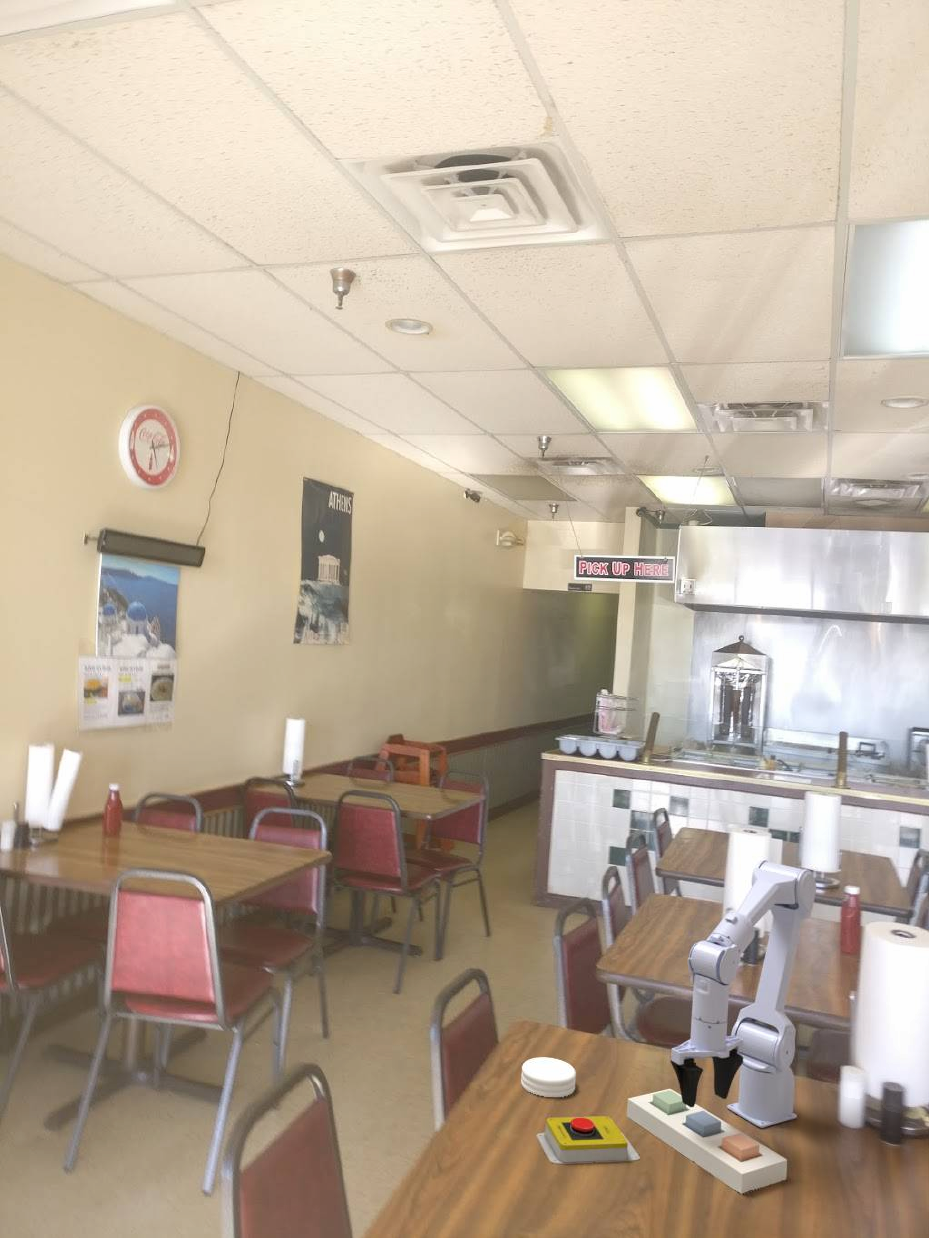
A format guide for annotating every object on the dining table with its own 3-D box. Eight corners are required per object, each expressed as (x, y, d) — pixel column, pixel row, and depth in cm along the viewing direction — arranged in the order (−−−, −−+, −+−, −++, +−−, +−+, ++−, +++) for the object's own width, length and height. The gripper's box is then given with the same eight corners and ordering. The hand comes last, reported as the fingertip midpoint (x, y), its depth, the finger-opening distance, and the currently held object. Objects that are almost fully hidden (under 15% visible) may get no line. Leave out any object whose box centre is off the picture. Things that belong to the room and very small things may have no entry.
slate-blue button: (702, 1128, 159) (703, 1110, 159) (720, 1139, 155) (721, 1121, 155) (685, 1133, 156) (686, 1115, 157) (702, 1145, 153) (703, 1126, 153)
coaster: (515, 1092, 171) (516, 1073, 171) (527, 1070, 180) (528, 1052, 180) (569, 1104, 168) (570, 1084, 168) (579, 1081, 177) (580, 1062, 177)
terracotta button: (738, 1151, 152) (739, 1132, 152) (758, 1164, 148) (759, 1144, 148) (721, 1157, 150) (722, 1137, 150) (740, 1169, 146) (741, 1150, 146)
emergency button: (536, 1109, 156) (621, 1107, 159) (534, 1137, 156) (620, 1134, 159) (553, 1138, 147) (643, 1135, 150) (551, 1167, 147) (641, 1163, 150)
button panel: (669, 1105, 169) (670, 1088, 170) (786, 1179, 147) (787, 1159, 147) (626, 1116, 164) (627, 1098, 164) (741, 1194, 142) (742, 1173, 142)
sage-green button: (669, 1107, 165) (670, 1090, 165) (685, 1117, 162) (686, 1100, 162) (651, 1111, 163) (652, 1094, 163) (668, 1122, 160) (669, 1104, 160)
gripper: (695, 1032, 149) (690, 1119, 149) (758, 1019, 157) (754, 1102, 156) (664, 1016, 155) (659, 1100, 155) (726, 1004, 163) (722, 1084, 162)
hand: (704, 1100), depth 156 cm, fingers open, 7 cm apart
